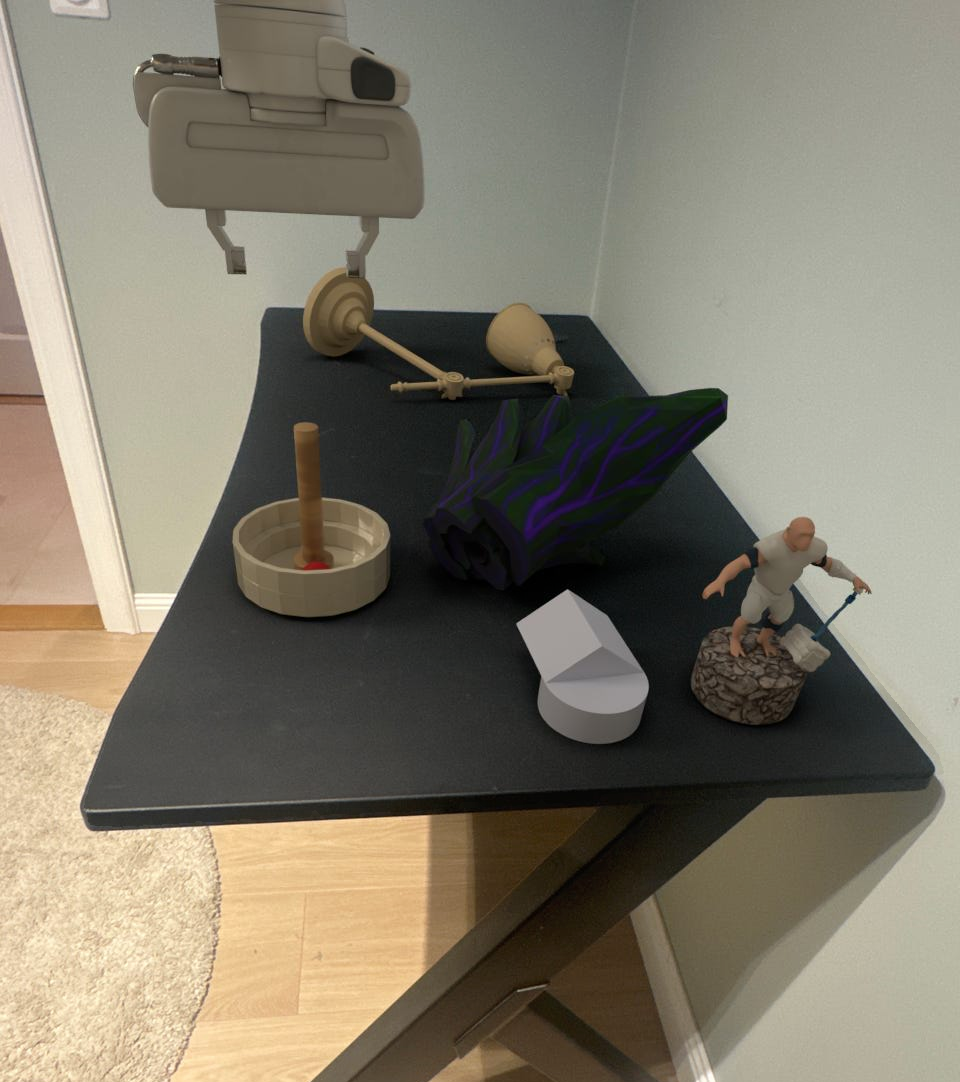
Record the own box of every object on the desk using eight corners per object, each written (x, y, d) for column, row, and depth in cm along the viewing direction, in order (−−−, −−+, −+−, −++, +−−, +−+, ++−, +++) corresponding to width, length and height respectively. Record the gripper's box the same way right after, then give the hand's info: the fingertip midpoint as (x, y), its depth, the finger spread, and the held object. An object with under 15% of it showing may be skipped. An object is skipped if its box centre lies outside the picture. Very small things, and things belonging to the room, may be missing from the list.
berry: (299, 580, 78) (301, 601, 76) (299, 555, 76) (301, 575, 74) (331, 579, 79) (334, 599, 77) (332, 554, 77) (335, 574, 75)
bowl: (237, 627, 73) (230, 577, 69) (240, 545, 84) (234, 499, 81) (398, 616, 76) (399, 568, 73) (379, 539, 88) (379, 495, 85)
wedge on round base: (512, 652, 73) (556, 750, 63) (520, 592, 69) (568, 686, 59) (601, 644, 75) (657, 736, 65) (613, 585, 71) (676, 675, 61)
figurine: (682, 731, 66) (741, 547, 55) (648, 667, 73) (695, 492, 62) (837, 722, 68) (923, 544, 58) (791, 661, 75) (859, 491, 64)
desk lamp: (289, 280, 124) (471, 392, 109) (441, 233, 143) (614, 323, 127) (295, 365, 135) (461, 478, 120) (435, 311, 154) (593, 403, 139)
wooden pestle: (295, 582, 78) (284, 435, 69) (294, 562, 81) (282, 418, 72) (335, 580, 79) (329, 434, 70) (332, 560, 82) (326, 418, 73)
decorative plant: (433, 627, 91) (584, 492, 104) (604, 662, 71) (762, 490, 85) (348, 470, 81) (528, 344, 94) (520, 461, 61) (714, 303, 75)
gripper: (121, 51, 50) (158, 280, 59) (432, 78, 55) (425, 287, 63) (133, 49, 55) (165, 261, 63) (418, 74, 60) (413, 269, 68)
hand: (297, 274), depth 63 cm, fingers open, 8 cm apart
